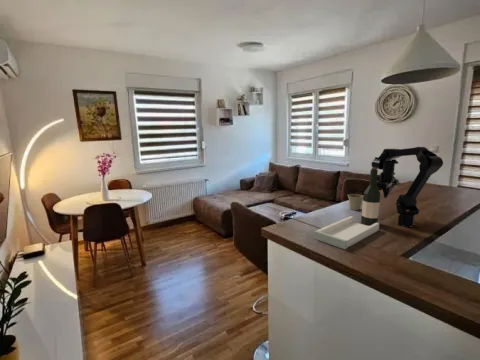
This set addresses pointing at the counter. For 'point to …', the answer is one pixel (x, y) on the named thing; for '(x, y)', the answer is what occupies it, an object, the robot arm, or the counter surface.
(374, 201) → the wine bottle
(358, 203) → the flower pot
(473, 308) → the counter surface
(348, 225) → the tray
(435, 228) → the counter surface
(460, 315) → the counter surface
